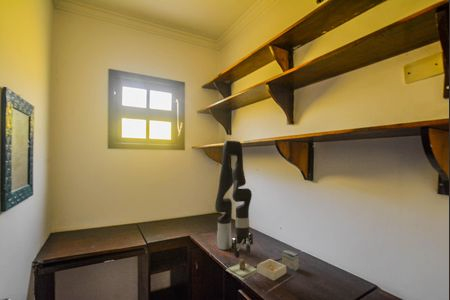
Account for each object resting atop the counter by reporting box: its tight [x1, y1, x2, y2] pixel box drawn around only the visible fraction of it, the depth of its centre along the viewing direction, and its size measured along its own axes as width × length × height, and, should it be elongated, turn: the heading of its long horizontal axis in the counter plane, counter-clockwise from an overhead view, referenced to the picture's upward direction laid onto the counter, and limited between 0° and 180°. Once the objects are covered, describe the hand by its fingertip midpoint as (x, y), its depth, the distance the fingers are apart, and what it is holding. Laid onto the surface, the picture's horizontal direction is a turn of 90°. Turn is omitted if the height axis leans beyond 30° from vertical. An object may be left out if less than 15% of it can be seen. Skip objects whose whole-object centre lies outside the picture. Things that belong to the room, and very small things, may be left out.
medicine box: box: [281, 249, 299, 272], centre depth 130 cm, size 8×4×9 cm, turn 45°
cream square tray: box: [256, 258, 287, 281], centre depth 124 cm, size 11×11×4 cm
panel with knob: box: [225, 268, 257, 281], centre depth 126 cm, size 13×13×1 cm
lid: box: [227, 258, 257, 278], centre depth 126 cm, size 11×11×6 cm
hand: (242, 255), depth 126 cm, fingers open, 8 cm apart
